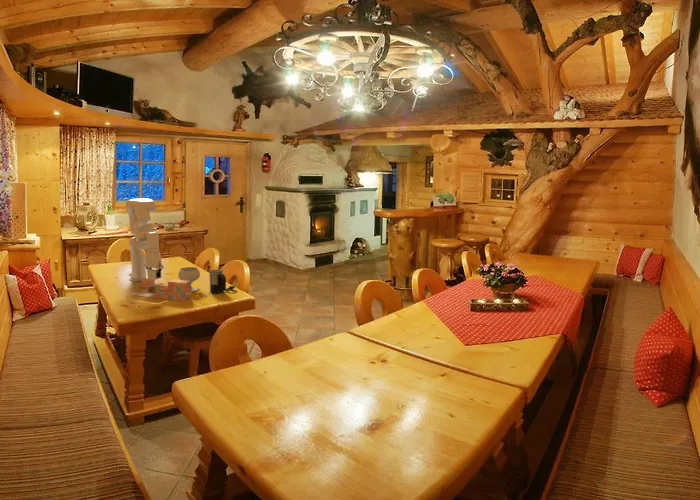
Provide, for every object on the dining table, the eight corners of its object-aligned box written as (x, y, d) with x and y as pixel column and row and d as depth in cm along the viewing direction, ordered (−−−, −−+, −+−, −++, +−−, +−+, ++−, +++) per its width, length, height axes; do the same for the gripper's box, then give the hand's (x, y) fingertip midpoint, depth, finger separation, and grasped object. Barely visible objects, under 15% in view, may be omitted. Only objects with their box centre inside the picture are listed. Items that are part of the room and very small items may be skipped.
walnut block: (148, 292, 329) (148, 286, 329) (154, 289, 335) (154, 284, 334) (155, 293, 327) (155, 287, 327) (162, 290, 333) (161, 285, 332)
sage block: (147, 278, 328) (147, 270, 326) (154, 276, 333) (153, 268, 332) (155, 279, 325) (154, 270, 324) (161, 277, 331) (161, 269, 330)
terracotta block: (142, 288, 341) (141, 280, 340) (148, 286, 347) (147, 278, 346) (148, 289, 339) (148, 280, 338) (155, 287, 345) (154, 278, 344)
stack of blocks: (155, 299, 317) (154, 280, 314) (161, 296, 323) (160, 278, 320) (185, 301, 312) (185, 282, 310) (191, 299, 318) (190, 280, 316)
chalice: (189, 286, 348) (188, 265, 345) (204, 289, 342) (204, 268, 339) (174, 291, 335) (173, 269, 332) (190, 294, 329) (189, 272, 326)
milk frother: (206, 293, 332) (206, 271, 330) (221, 287, 347) (220, 267, 344) (224, 295, 327) (223, 273, 324) (238, 290, 341) (237, 269, 339)
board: (130, 295, 323) (130, 294, 322) (149, 289, 338) (148, 288, 338) (152, 298, 317) (152, 297, 316) (170, 292, 332) (170, 291, 332)
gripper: (138, 250, 325) (140, 277, 329) (159, 252, 319) (161, 279, 323) (146, 248, 332) (148, 274, 335) (167, 250, 326) (169, 277, 330)
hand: (154, 276), depth 329 cm, fingers closed on sage block, 6 cm apart
